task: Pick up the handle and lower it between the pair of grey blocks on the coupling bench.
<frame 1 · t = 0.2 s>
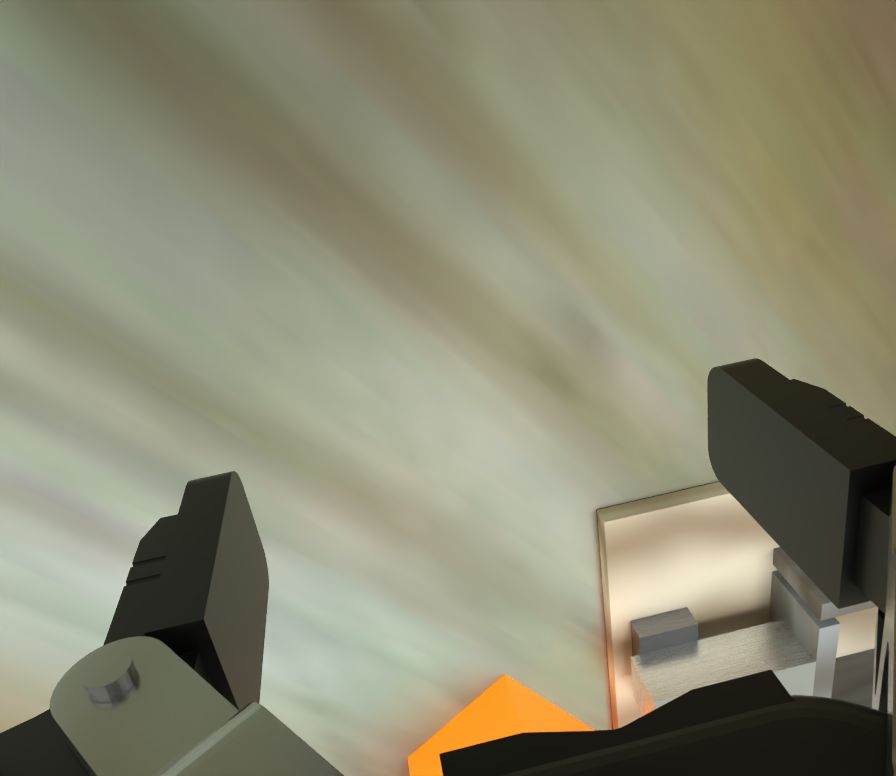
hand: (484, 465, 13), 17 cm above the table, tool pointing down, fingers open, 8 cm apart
coupling bench: (837, 589, 41), on the table
orange juice: (508, 744, 42), on the table
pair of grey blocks: (879, 662, 39), in the coupling bench, point 3 cm above the table
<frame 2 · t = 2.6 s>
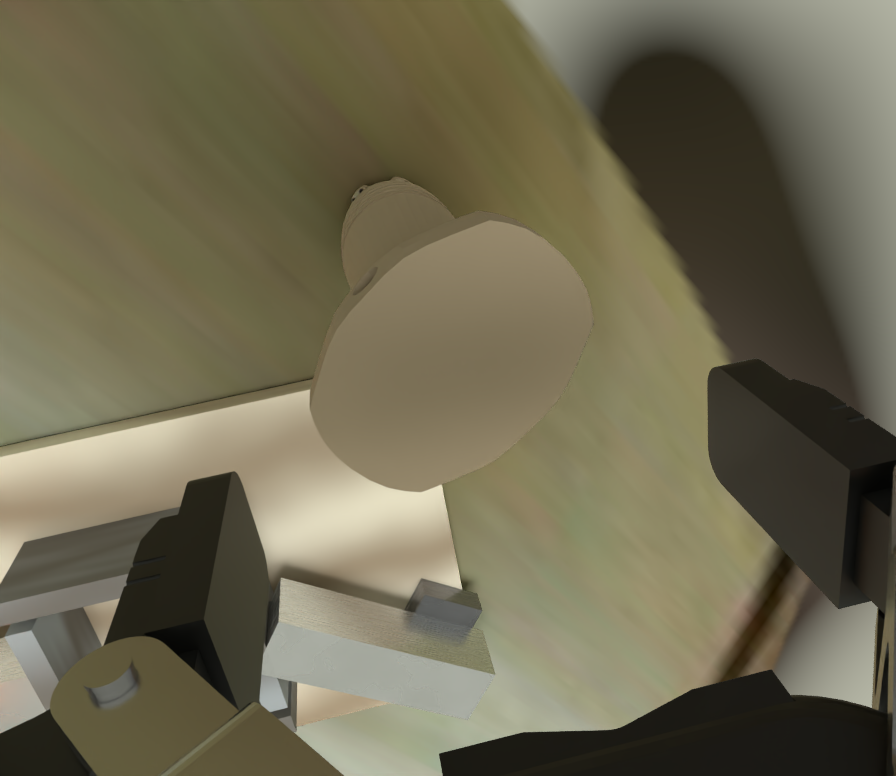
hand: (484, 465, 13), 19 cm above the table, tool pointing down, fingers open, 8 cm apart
handle: (386, 216, 30), on the table
coupling bench: (174, 592, 35), on the table
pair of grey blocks: (195, 678, 33), in the coupling bench, point 3 cm above the table
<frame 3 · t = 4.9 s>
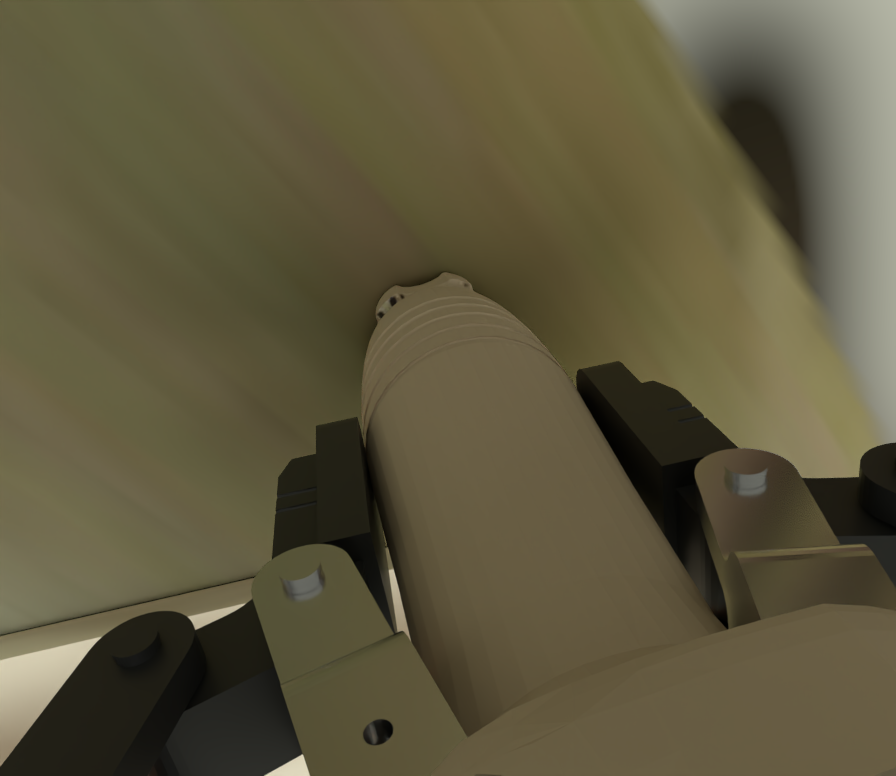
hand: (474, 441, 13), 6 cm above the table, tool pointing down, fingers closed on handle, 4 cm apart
handle: (429, 328, 19), on the table, touching gripper
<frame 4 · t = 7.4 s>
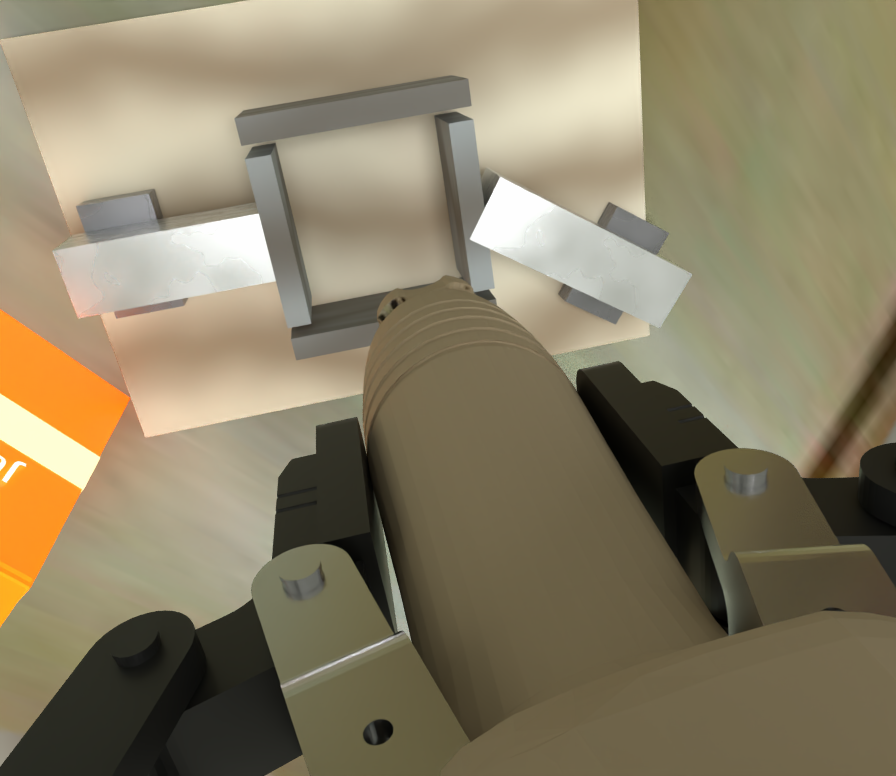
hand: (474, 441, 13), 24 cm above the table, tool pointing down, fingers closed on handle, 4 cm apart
handle: (430, 331, 19), point 18 cm above the table, touching gripper
coupling bench: (369, 204, 35), on the table
orange juice: (5, 397, 37), on the table
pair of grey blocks: (397, 270, 34), in the coupling bench, point 3 cm above the table
when the fingers open (8 cm above the table, at t = 10.3 s): handle drops 1 cm, resting on coupling bench.
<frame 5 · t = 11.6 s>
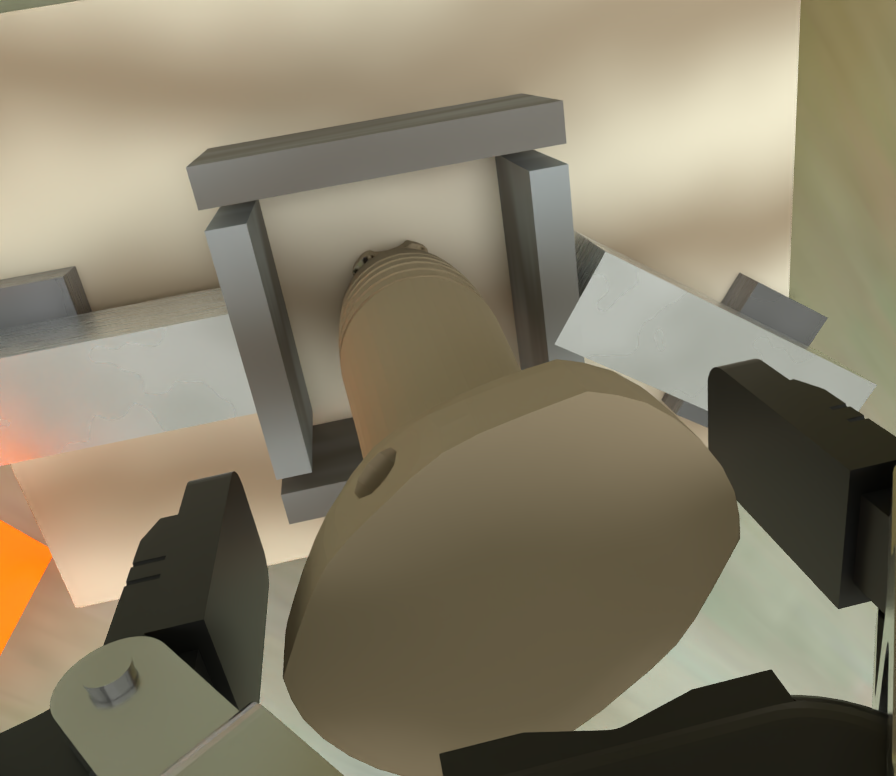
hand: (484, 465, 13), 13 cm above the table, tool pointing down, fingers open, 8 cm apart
handle: (396, 286, 24), point 1 cm above the table, touching coupling bench
coupling bench: (395, 280, 24), on the table
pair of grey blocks: (439, 382, 23), in the coupling bench, point 3 cm above the table
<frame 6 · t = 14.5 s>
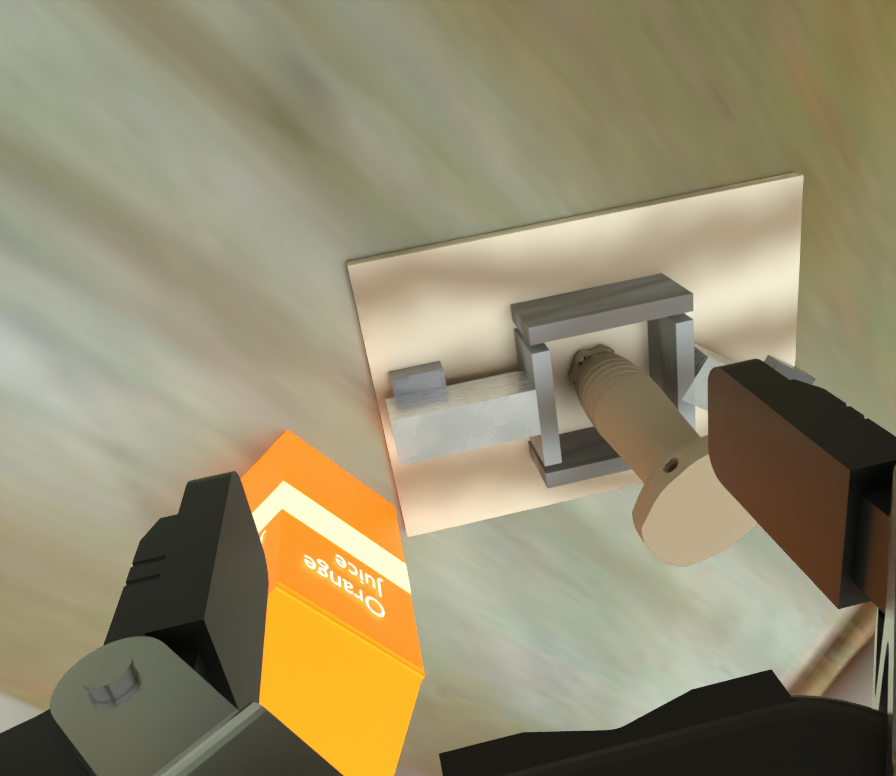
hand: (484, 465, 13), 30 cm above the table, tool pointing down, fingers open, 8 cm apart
handle: (591, 366, 45), point 1 cm above the table, touching coupling bench
coupling bench: (587, 361, 46), on the table
orange juice: (303, 508, 48), on the table
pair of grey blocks: (617, 416, 45), in the coupling bench, point 3 cm above the table
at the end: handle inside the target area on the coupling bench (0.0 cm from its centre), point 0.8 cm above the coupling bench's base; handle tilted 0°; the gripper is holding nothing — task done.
